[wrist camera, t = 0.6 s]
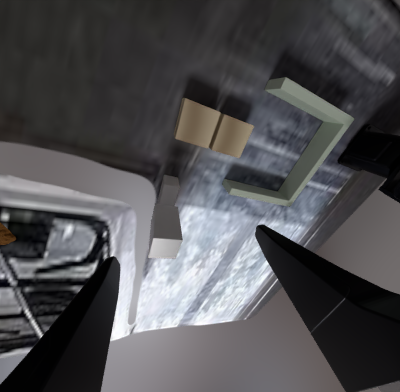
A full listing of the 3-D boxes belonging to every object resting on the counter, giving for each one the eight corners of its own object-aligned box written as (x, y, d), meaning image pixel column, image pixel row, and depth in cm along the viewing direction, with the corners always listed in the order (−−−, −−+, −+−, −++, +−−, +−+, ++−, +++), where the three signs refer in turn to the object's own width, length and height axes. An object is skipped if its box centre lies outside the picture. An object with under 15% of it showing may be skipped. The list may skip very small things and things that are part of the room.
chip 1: (214, 110, 19) (220, 112, 16) (203, 143, 20) (207, 148, 18) (182, 97, 17) (185, 98, 15) (173, 134, 19) (175, 138, 17)
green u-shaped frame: (332, 116, 22) (354, 118, 19) (278, 197, 28) (289, 206, 26) (268, 80, 18) (286, 77, 15) (221, 184, 24) (228, 194, 22)
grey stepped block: (181, 178, 22) (191, 218, 15) (167, 224, 26) (169, 274, 19) (160, 173, 21) (159, 214, 14) (149, 222, 25) (143, 274, 18)
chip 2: (244, 123, 20) (254, 126, 18) (232, 152, 22) (239, 158, 20) (217, 112, 19) (224, 114, 17) (206, 144, 20) (211, 150, 18)
